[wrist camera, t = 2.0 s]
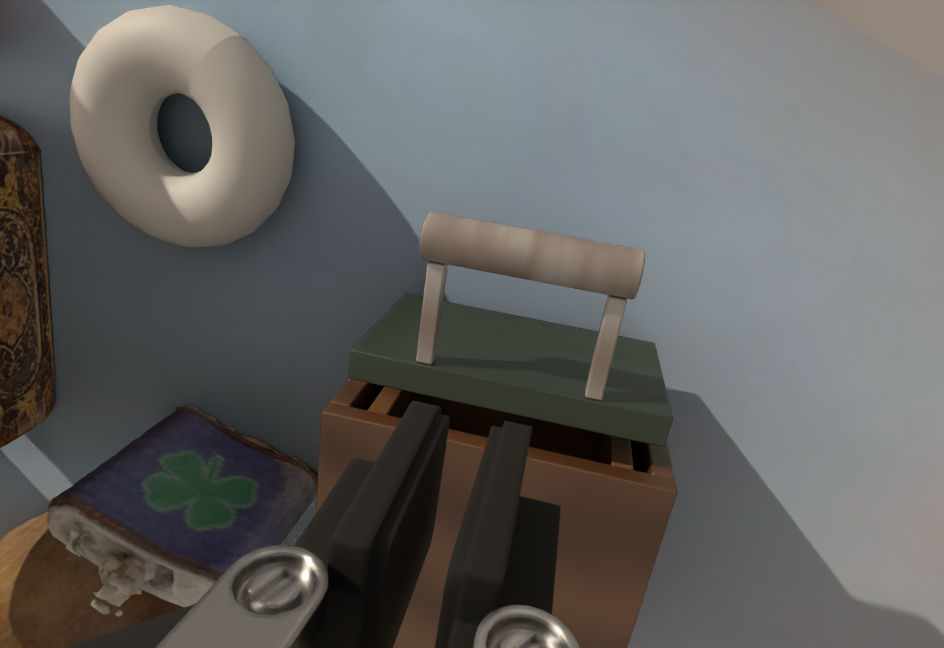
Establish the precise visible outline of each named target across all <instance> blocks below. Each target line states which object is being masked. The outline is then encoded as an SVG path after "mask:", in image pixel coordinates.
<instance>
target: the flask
mask: <svg viewBox="0 0 944 648" xmlns="http://www.w3.org/2000/svg"><path fill="white" fill-rule="evenodd" d="M317 486H318V476H317V475H316V474H314V472H313V471H311V469H310V468H309V467H308V466H307V465H306V464H304V463H302V462H301V461H299V460H298V459H297V458H295V457H291V459H290V458H288V457H286V456H284V455H283V454H281V453H279V452H277V451H276V450H275V449H273V448H271V446H269V445H268V444H265V443H264V442H263V441H262V440H257V439H256V438H255V437H250V436H249V437H247V436H241V435H239V434H237V433H236V432H235V429H234V427H232V428H231V427H227V426H223V425H221V424H220V423H219V422H218V421H217V420H216V419H215V417H214V418H212V417H211V416H209V415H206V414H205V413H204V412H202V411H200V410H199V409H197V408H196V407H193V406H191V407H190V406H188V407H183V408H179V407H177V410H176V411H175V412H174V413H172V414H171V415H169V416H167V417H166V418H165V419H163V420H162V421H160V422H159V423H158V424H157V425H155V426H154V427H152V428H151V429H149V430H148V431H147V432H146V433H144V434H143V435H142V436H141V437H139V438H137V439H136V440H134V441H132V442H131V443H130V444H129V445H127V446H126V447H125V448H123V449H122V450H121V451H120V452H118V453H117V454H116V455H115V456H113V457H112V458H110V459H109V460H107V461H105V462H104V463H103V464H101V465H100V466H99V467H98V468H97V469H96V470H94V471H92V472H91V473H89V474H87V475H86V476H85V477H84V478H82V479H80V480H79V481H78V482H77V483H75V484H74V485H73V486H72V487H71V488H69V489H67V490H66V491H64V492H62V493H61V494H60V495H58V496H57V497H55V498H53V499H52V501H51V502H50V504H49V507H48V515H47V521H48V524H49V530H50V532H51V534H52V536H54V537H55V538H57V539H58V540H59V541H61V542H62V543H64V544H65V545H66V549H68V550H69V551H70V552H72V553H74V554H76V555H78V556H80V554H81V555H82V556H84V557H85V558H87V559H88V560H89V561H91V562H92V563H94V564H95V565H97V566H98V567H99V575H100V577H101V582H102V584H104V585H103V587H102V589H101V590H100V591H99V592H97V593H96V592H93V594H94V595H95V596H96V597H98V598H100V599H102V600H107V602H108V603H110V604H113V605H115V606H118V607H119V606H121V605H122V604H123V602H125V601H126V600H127V599H128V598H129V597H130V595H134V594H141V590H142V591H146V592H148V593H150V594H153V595H155V596H157V597H159V598H161V599H163V600H165V601H168V602H171V603H174V604H177V605H180V606H182V607H187V606H190V605H193V604H196V603H197V602H198V601H199V600H200V598H201V597H202V596H203V595H204V594H205V593H206V592H207V591H208V590H209V589H210V588H211V587H212V585H213V584H214V583H215V582H216V581H217V580H218V579H219V578H220V577H221V576H222V575H223V574H224V573H225V571H226V570H227V569H228V568H229V567H230V566H231V565H232V564H233V563H235V562H236V561H237V560H238V559H240V558H241V557H242V556H244V555H246V554H248V553H250V552H252V551H254V550H256V549H260V548H264V547H268V546H272V545H280V544H281V543H282V541H283V540H284V539H285V538H286V536H287V535H288V534H289V532H290V531H291V529H292V528H293V527H294V525H295V524H296V522H297V521H298V520H299V518H300V517H301V515H302V514H303V513H304V511H305V510H306V509H307V507H308V505H309V504H310V503H311V502H312V501H313V499H314V498H315V496H316V495H317ZM91 606H92V607H94V608H95V609H96V610H98V611H99V612H100V613H101V614H109V613H111V612H110V609H109V606H106V605H104V604H101V603H99V602H98V601H96V600H95V599H94V600H93V601H92V602H91ZM122 614H123V611H122V610H118V611H117V612H116V614H115V615H117V616H118V617H119V616H121V615H122Z"/></svg>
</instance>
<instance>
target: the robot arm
mask: <svg viewBox="0 0 944 648" xmlns="http://www.w3.org/2000/svg"><path fill="white" fill-rule="evenodd" d="M449 423H450V416H446V415H441V407H440V406H435V405H431V404H426V403H422V402H417V401H412V402H411V403H410V405H409V407H408V408H407V410H406V412H405V413H404V415H403V417H402V418H401V420H400V422H399V423H398V425H397V427H396V428H395V430H394V432H393V433H392V435H391V437H390V438H389V440H388V442H387V444H386V445H385V447H384V449H383V450H382V452H381V454H380V455H379V457H378V459H377V460H376V462H373V461H369V460H365V459H360V458H354V459H353V460H352V461H351V462H350V463H349V465H348V466H347V468H346V469H345V471H344V472H343V474H342V475H341V477H340V478H339V480H338V481H337V483H336V484H335V486H334V487H333V489H332V490H331V492H330V493H329V495H328V496H327V498H326V499H325V501H324V502H323V504H322V505H321V507H320V508H319V510H318V511H317V513H316V514H315V516H314V517H313V519H312V520H311V522H310V523H309V525H308V526H307V528H306V529H305V531H304V532H303V534H302V535H301V537H300V538H299V540H298V541H297V543H296V544H295V546H290V545H272V546H268V547H264V548H260V549H256V550H254V551H252V552H250V553H248V554H246V555H244V556H242V557H241V558H240V559H238V560H237V561H236V562H235V563H233V564H232V565H231V566H230V567H229V568H228V569H227V570H226V571H225V573H224V574H223V575H222V576H221V577H220V578H219V579H218V580H217V581H216V582H215V583H214V584H213V585H212V587H211V588H210V589H209V590H208V591H207V592H206V593H205V594H204V595H203V596H202V597H201V598H200V600H199V601H198V602H197V603H196V604H193V605H190V606H187V607H184V608H181V609H178V610H175V611H172V612H170V613H167V614H164V615H161V616H158V617H155V618H152V619H149V620H146V621H143V622H140V623H137V624H134V625H131V626H128V627H125V628H122V629H119V630H116V631H113V632H110V633H107V634H104V635H101V636H98V637H95V638H93V639H90V640H87V641H84V642H81V643H78V644H75V645H72V646H69V647H66V648H393V646H394V644H395V641H396V638H397V635H398V633H399V630H400V627H401V625H402V622H403V619H404V616H405V614H406V611H407V608H408V605H409V603H410V600H411V597H412V594H413V592H414V589H415V586H416V583H417V581H418V578H419V575H420V572H421V570H422V567H423V564H424V561H425V559H426V556H427V553H428V550H429V548H430V544H431V541H432V537H433V532H434V526H435V519H436V512H437V506H438V499H439V492H440V485H441V478H442V471H443V464H444V458H445V451H446V444H447V437H448V430H449ZM531 433H532V427H531V426H526V425H522V424H517V423H513V422H508V421H504V424H503V428H500V427H495V426H492V427H491V430H490V433H489V436H488V440H487V443H486V446H485V449H484V453H483V456H482V459H481V462H480V465H479V469H478V472H477V475H476V478H475V482H474V485H473V488H472V491H471V494H470V498H469V501H468V504H467V507H466V511H465V514H464V517H463V520H462V523H461V527H460V530H459V533H458V536H457V539H456V543H455V546H454V549H453V552H452V556H451V559H450V563H449V568H448V572H447V576H446V581H445V587H444V593H443V599H442V606H441V612H440V618H439V624H438V630H437V637H436V643H435V648H579V645H578V643H577V641H576V639H575V638H574V636H573V634H572V633H571V631H570V630H569V629H568V628H567V627H566V626H565V625H564V624H563V623H562V622H561V621H560V620H559V619H558V618H556V617H554V616H552V608H553V596H554V584H555V572H556V560H557V547H558V535H559V523H560V509H561V507H560V505H557V504H553V503H548V502H544V501H540V500H536V499H531V498H527V497H523V496H520V492H521V486H522V481H523V476H524V470H525V465H526V460H527V454H528V449H529V444H530V438H531Z"/></svg>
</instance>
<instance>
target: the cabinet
mask: <svg viewBox="0 0 944 648" xmlns="http://www.w3.org/2000/svg"><path fill="white" fill-rule="evenodd" d="M384 387H385V386H381V385H376V384H371V383H367V382H362V381H358V380H353V379H349V381H348V382H347V383H346V384H345V385H344V386H343V388H342V389H341V390H340V391H339V392H338V393H337V395H336V396H335V397H334V398H333V399H332V400H331V402H330V403H329V404H328V405H327V406H326V407H325V409H324V410H323V411H322V414H321V432H320V450H319V468H318V486H317V504H316V513H317V511H318V510H319V508H320V507H321V505H322V504H323V502H324V501H325V499H326V498H327V496H328V495H329V493H330V492H331V490H332V489H333V487H334V486H335V484H336V483H337V481H338V480H339V478H340V477H341V475H342V474H343V472H344V471H345V469H346V468H347V466H348V465H349V463H350V462H351V461H352V460H353V459H354V458H360V459H365V460H369V461H373V462H376V460H377V459H378V457H379V455H380V454H381V452H382V450H383V449H384V447H385V445H386V444H387V442H388V440H389V438H390V437H391V435H392V433H393V432H394V430H395V428H396V427H397V425H398V423H399V422H400V420H401V418H398V417H394V416H389V415H385V414H380V413H376V412H371V411H367V410H368V409H369V408H370V406H371V405H372V403H373V402H374V401H375V399H376V398H377V397H378V395H379V394H380V392H381V391H382V390H383V388H384ZM487 440H488V438H487V437H483V436H479V435H474V434H470V433H465V432H461V431H456V430H452V429H449V430H448V437H447V444H446V451H445V458H444V464H443V471H442V478H441V485H440V492H439V499H438V506H437V512H436V519H435V526H434V532H433V537H432V541H431V544H430V548H429V550H428V553H427V556H426V559H425V561H424V564H423V567H422V570H421V572H420V575H419V578H418V581H417V583H416V586H415V589H414V592H413V594H412V597H411V600H410V603H409V605H408V608H407V611H406V614H405V616H404V619H403V622H402V625H401V627H400V630H399V633H398V635H397V638H396V641H395V644H394V646H393V648H435V643H436V637H437V630H438V624H439V618H440V612H441V606H442V599H443V593H444V587H445V581H446V576H447V572H448V568H449V563H450V559H451V556H452V552H453V549H454V546H455V543H456V539H457V536H458V533H459V530H460V527H461V523H462V520H463V517H464V514H465V511H466V507H467V504H468V501H469V498H470V494H471V491H472V488H473V485H474V482H475V478H476V475H477V472H478V469H479V465H480V462H481V459H482V456H483V453H484V449H485V446H486V443H487ZM631 448H632V458H633V468H634V470H631V469H626V468H622V467H617V466H613V465H608V464H604V463H599V462H595V461H590V460H586V459H581V458H577V457H572V456H568V455H563V454H559V453H555V452H550V451H546V450H541V449H537V448H532V447H529V449H528V454H527V460H526V465H525V470H524V476H523V481H522V486H521V492H520V496H523V497H527V498H531V499H536V500H540V501H544V502H548V503H553V504H557V505H560V507H561V509H560V523H559V535H558V547H557V560H556V572H555V584H554V596H553V608H552V616H554V617H556V618H558V619H559V620H560V621H561V622H562V623H563V624H564V625H565V626H566V627H567V628H568V629H569V630H570V631H571V633H572V634H573V636H574V638H575V639H576V641H577V643H578V645H579V648H627V647H628V644H629V641H630V638H631V635H632V632H633V629H634V626H635V623H636V619H637V616H638V613H639V610H640V607H641V604H642V601H643V598H644V595H645V591H646V588H647V585H648V582H649V579H650V576H651V573H652V570H653V567H654V564H655V560H656V557H657V554H658V551H659V548H660V545H661V542H662V539H663V536H664V532H665V529H666V526H667V523H668V520H669V517H670V514H671V511H672V508H673V504H674V501H675V498H676V495H677V489H676V484H675V480H674V475H673V470H672V465H671V460H670V455H669V450H668V446H667V441H666V444H665V446H664V447H660V446H656V445H651V444H647V443H642V442H638V441H633V440H631Z"/></svg>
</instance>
